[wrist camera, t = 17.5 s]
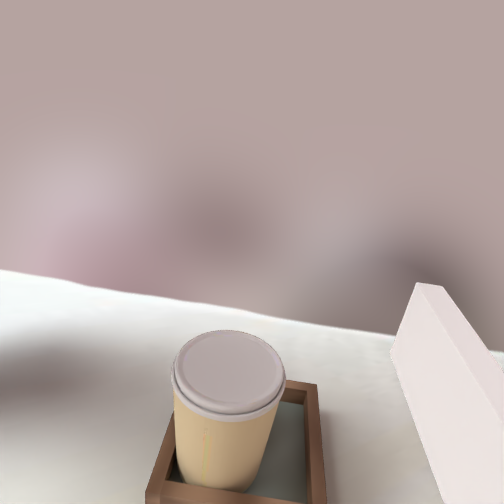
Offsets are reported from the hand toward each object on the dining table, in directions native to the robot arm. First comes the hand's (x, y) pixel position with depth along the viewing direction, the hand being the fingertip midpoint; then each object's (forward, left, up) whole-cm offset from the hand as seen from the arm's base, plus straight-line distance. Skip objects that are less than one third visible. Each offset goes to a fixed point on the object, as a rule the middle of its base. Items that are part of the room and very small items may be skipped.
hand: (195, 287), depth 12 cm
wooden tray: (+3, +16, -31) cm, 35 cm away
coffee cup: (+1, +14, -27) cm, 31 cm away
